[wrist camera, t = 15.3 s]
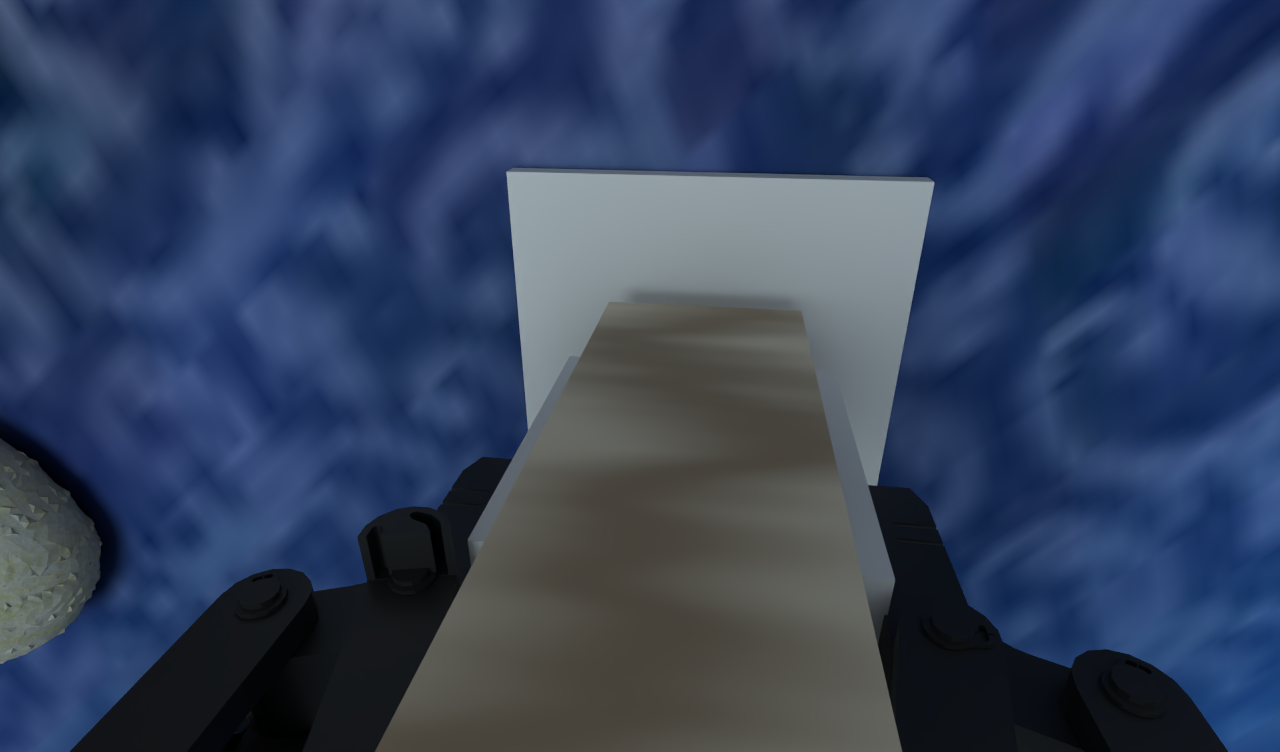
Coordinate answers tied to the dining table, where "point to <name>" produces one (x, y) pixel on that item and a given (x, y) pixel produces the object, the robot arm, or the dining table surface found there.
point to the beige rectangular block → (665, 563)
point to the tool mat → (724, 265)
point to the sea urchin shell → (40, 556)
